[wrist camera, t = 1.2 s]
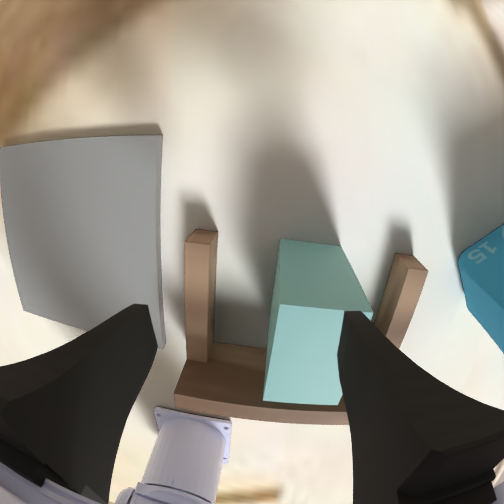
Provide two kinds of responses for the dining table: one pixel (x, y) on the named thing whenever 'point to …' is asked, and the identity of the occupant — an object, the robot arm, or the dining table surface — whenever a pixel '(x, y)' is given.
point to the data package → (486, 283)
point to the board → (85, 227)
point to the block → (309, 322)
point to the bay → (254, 359)
